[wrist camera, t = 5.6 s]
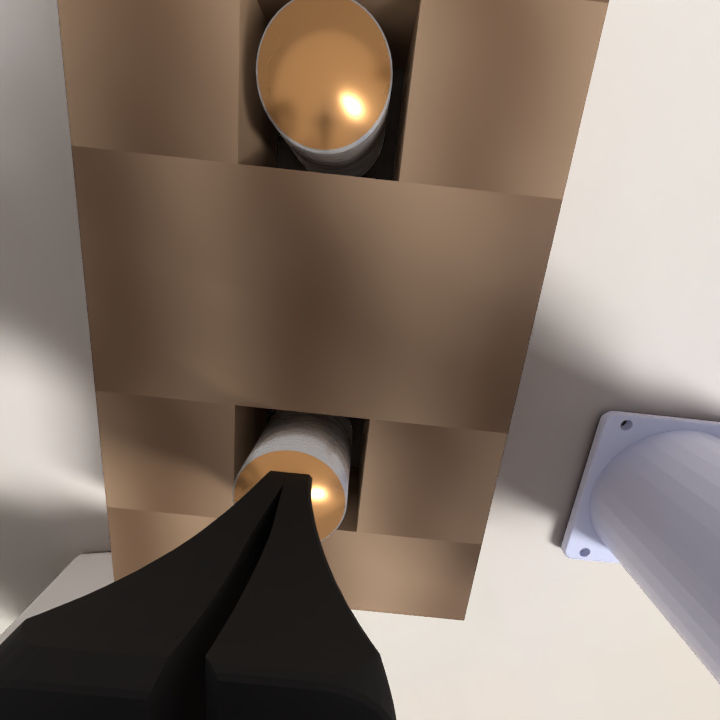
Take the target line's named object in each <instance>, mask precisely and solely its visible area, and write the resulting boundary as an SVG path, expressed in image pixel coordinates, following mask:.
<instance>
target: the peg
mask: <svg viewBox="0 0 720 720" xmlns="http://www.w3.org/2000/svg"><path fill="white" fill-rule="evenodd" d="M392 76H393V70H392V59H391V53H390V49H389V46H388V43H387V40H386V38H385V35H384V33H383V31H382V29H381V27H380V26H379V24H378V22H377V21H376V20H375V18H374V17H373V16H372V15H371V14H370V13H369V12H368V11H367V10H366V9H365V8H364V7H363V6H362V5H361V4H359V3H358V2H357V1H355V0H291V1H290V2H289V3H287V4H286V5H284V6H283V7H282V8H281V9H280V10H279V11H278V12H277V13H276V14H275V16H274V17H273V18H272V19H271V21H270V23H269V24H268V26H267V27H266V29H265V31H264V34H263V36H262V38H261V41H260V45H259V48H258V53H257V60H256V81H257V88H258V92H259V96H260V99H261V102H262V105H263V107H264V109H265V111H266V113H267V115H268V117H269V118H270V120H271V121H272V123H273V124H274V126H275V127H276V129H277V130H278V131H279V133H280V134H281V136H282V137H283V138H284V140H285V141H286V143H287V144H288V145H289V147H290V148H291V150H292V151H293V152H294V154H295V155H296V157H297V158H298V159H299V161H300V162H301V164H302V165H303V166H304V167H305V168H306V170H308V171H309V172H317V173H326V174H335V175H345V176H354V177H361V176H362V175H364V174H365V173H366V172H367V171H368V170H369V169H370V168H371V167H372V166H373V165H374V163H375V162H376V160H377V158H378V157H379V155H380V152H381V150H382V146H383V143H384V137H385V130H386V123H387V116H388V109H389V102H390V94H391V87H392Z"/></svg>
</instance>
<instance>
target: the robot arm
mask: <svg viewBox="0 0 720 720" xmlns="http://www.w3.org/2000/svg"><path fill="white" fill-rule="evenodd" d="M625 420H627V422H626V424H625V425H624V426H622V427H621V423H622V422H623V421H625ZM312 480H313V478H312V477H311V476H310V475H309V474H299V473H289V472H279V471H270V472H268V473H267V474H266V475H265V476H264V477H263V478H262V479H261V480H260V481H259V482H258V483H257V484H256V485H255V486H254V487H253V488H251V489H250V490H249V491H248V492H247V493H246V494H245V495H244V496H243V497H242V498H241V499H239V500H238V501H237V502H236V503H235V504H234V505H233V506H232V507H230V508H229V509H228V510H227V511H226V512H225V513H223V514H222V515H221V516H220V517H218V518H217V519H216V520H215V521H213V522H212V523H211V524H209V525H208V526H207V527H206V528H204V529H203V530H202V531H200V532H199V533H198V534H196V535H195V536H193V537H192V538H190V539H189V540H187V541H186V542H184V543H183V544H181V545H180V546H178V547H177V548H175V549H174V550H172V551H170V552H169V553H167V554H165V555H163V556H162V557H160V558H158V559H156V560H155V561H153V562H151V563H149V564H148V565H146V566H144V567H142V568H141V569H139V570H137V571H135V572H133V573H131V574H129V575H127V576H125V577H123V578H121V579H119V580H117V581H115V582H113V583H111V584H109V585H107V586H104V587H102V588H100V589H98V590H96V591H94V592H91V593H89V594H87V595H85V596H82V597H80V598H78V599H75V600H73V601H70V602H68V603H65V604H63V605H60V606H58V607H55V608H53V609H50V610H48V611H45V612H43V613H40V614H38V615H35V616H32V617H30V618H27V619H25V620H24V621H23V622H22V623H21V624H20V625H19V626H18V627H17V628H16V629H15V630H14V631H13V632H12V633H11V634H10V635H9V636H8V637H7V638H6V639H5V640H4V641H3V642H2V643H1V644H0V720H396V715H395V709H394V704H393V700H392V695H391V691H390V687H389V684H388V680H387V676H386V673H385V670H384V666H383V663H382V660H381V657H380V654H379V652H378V651H377V649H376V648H375V647H374V645H373V644H372V642H371V641H370V640H369V638H368V637H367V635H366V634H365V632H364V631H363V629H362V628H361V626H360V624H359V623H358V621H357V619H356V618H355V616H354V614H353V613H352V611H351V609H350V608H349V606H348V604H347V602H346V600H345V598H344V596H343V594H342V592H341V590H340V588H339V587H338V585H337V583H336V581H335V578H334V576H333V574H332V571H331V569H330V567H329V564H328V562H327V559H326V556H325V554H324V551H323V548H322V545H321V542H320V538H319V535H318V531H317V527H316V523H315V518H314V513H313V507H312V499H311V493H312ZM583 548H585V549H583ZM561 549H562V551H563V553H564V554H565V556H567V557H568V558H571V559H579V560H589V561H599V562H609V563H619V564H621V565H622V566H623V567H624V568H625V570H626V571H627V572H628V573H629V574H630V576H631V577H632V578H633V579H634V581H635V582H636V583H637V584H638V585H639V587H640V588H641V589H642V590H643V591H644V593H645V594H646V595H647V596H648V598H649V599H650V600H651V601H652V602H653V604H654V605H655V606H656V607H657V608H658V610H659V611H660V612H661V613H662V615H663V616H664V617H665V618H666V619H667V621H668V622H669V623H670V624H671V625H672V627H673V628H674V629H675V630H676V632H677V633H678V634H679V635H680V636H681V638H682V639H683V640H684V641H685V642H686V644H687V645H688V646H689V647H690V649H691V650H692V651H693V652H694V653H695V655H696V656H697V657H698V658H699V659H700V661H701V662H702V663H703V664H704V666H705V667H706V668H707V669H708V670H709V672H710V673H711V674H712V675H713V676H714V678H715V679H716V680H717V681H718V683H719V684H720V422H716V421H706V420H697V419H687V418H678V417H668V416H658V415H649V414H639V413H630V412H620V411H609V412H606V413H605V414H604V415H602V417H601V419H600V421H599V424H598V427H597V431H596V434H595V437H594V441H593V444H592V447H591V450H590V454H589V457H588V460H587V463H586V467H585V470H584V473H583V476H582V480H581V483H580V486H579V490H578V493H577V496H576V499H575V503H574V506H573V509H572V512H571V516H570V519H569V522H568V526H567V529H566V532H565V535H564V539H563V542H562V545H561ZM581 549H583V550H581ZM580 550H581V551H580Z"/></svg>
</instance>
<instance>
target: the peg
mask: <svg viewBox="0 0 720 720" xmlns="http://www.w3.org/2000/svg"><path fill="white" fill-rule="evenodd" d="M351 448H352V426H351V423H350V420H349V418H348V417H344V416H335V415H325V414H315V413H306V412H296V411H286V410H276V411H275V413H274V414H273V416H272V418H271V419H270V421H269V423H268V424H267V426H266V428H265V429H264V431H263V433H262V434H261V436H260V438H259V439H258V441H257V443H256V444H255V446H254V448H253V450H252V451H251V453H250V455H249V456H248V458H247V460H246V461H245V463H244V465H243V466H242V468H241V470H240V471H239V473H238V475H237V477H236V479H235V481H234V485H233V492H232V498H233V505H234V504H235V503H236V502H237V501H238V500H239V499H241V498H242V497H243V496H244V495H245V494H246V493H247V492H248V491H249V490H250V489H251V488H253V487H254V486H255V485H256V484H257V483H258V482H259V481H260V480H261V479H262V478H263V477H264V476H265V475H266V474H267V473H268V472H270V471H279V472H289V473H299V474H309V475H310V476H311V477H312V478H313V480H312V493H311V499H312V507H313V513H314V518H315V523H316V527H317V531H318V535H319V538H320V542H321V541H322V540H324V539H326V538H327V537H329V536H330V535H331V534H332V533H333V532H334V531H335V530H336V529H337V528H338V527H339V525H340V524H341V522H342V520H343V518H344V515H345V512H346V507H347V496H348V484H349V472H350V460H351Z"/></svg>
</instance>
